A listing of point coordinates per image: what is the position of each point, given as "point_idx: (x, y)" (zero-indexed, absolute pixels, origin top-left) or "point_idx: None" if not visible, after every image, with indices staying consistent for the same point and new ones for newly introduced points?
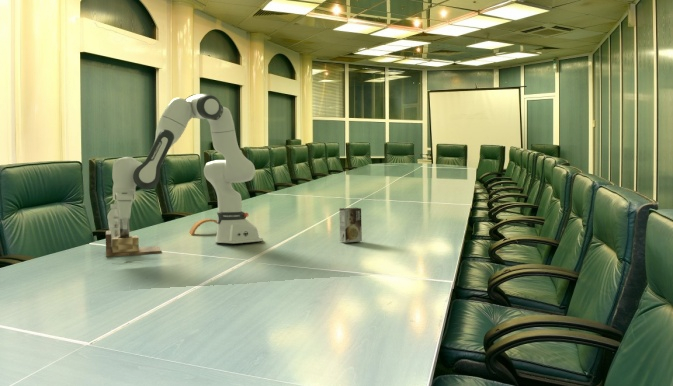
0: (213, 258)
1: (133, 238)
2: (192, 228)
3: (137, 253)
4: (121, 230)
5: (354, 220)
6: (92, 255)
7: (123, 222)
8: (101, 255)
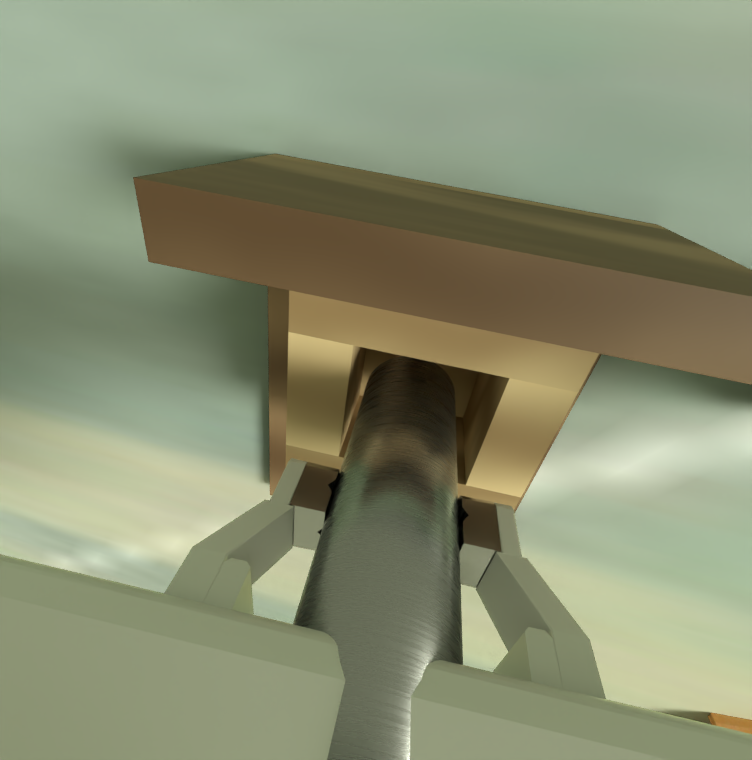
0: (40, 542)
1: (286, 448)
2: None
3: (272, 383)
4: (360, 440)
5: None
6: (477, 19)
7: (221, 540)
8: (407, 126)
